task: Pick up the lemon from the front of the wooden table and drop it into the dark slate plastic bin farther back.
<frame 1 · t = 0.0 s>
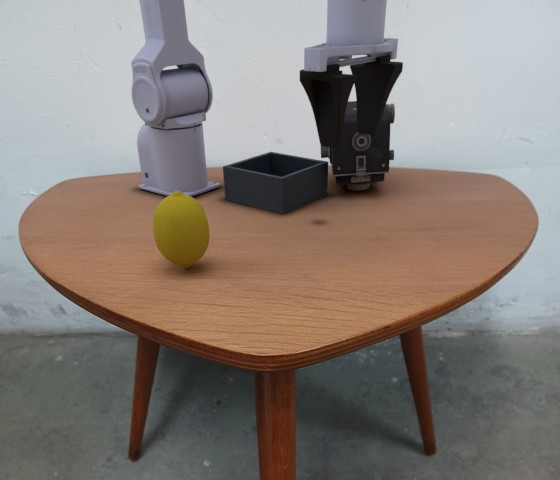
hand: (349, 140, 61), 10 cm above the table, tool pointing down, fingers open, 7 cm apart
camera: (357, 184, 82), on the table
bin: (276, 197, 77), on the table
lemon: (186, 270, 58), on the table
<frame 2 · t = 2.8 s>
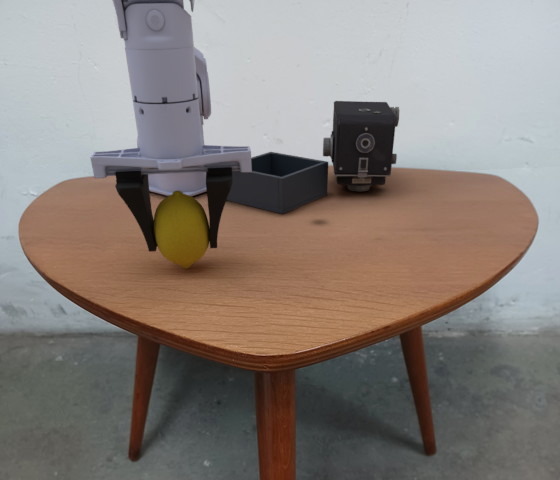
hand: (183, 246, 56), 2 cm above the table, tool pointing down, fingers closed on lemon, 5 cm apart
lemon: (186, 270, 58), on the table, touching gripper
everything else where it was.
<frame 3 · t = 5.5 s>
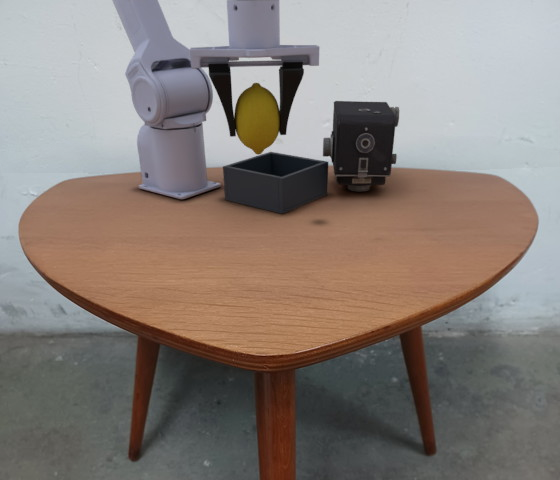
hand: (257, 134, 68), 9 cm above the table, tool pointing down, fingers closed on lemon, 5 cm apart
lemon: (258, 156, 69), point 7 cm above the table, touching gripper
everything else where it was.
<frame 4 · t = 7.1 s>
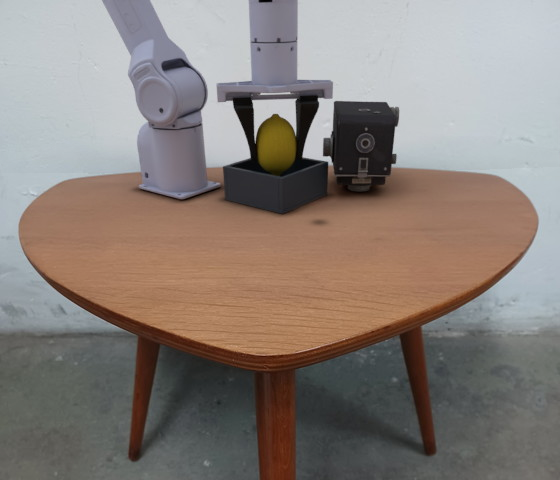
hand: (275, 159, 74), 5 cm above the table, tool pointing down, fingers closed on lemon, 5 cm apart
lemon: (276, 178, 76), point 3 cm above the table, touching gripper
everything else where it was.
when the fingers open (3 cm above the table, at t = 8.4 s): lemon stays where it is, resting on bin.
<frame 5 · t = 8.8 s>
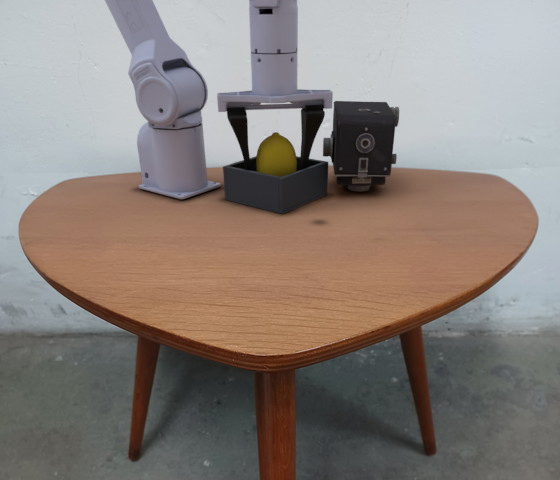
hand: (275, 167, 75), 4 cm above the table, tool pointing down, fingers open, 7 cm apart
lemon: (276, 195, 77), resting on bin
everything else where it was.
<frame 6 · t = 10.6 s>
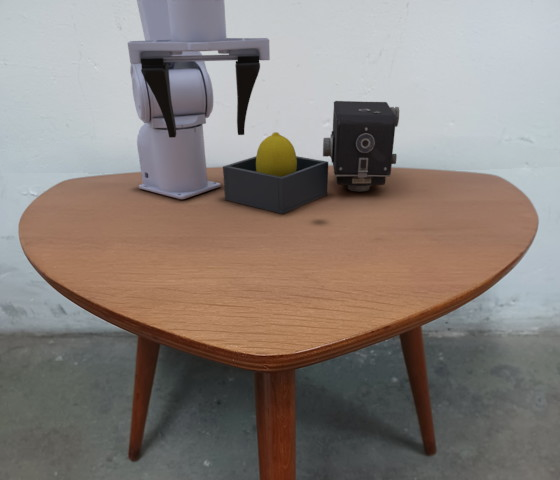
hand: (207, 134, 63), 10 cm above the table, tool pointing down, fingers open, 7 cm apart
nothing on the table moved.
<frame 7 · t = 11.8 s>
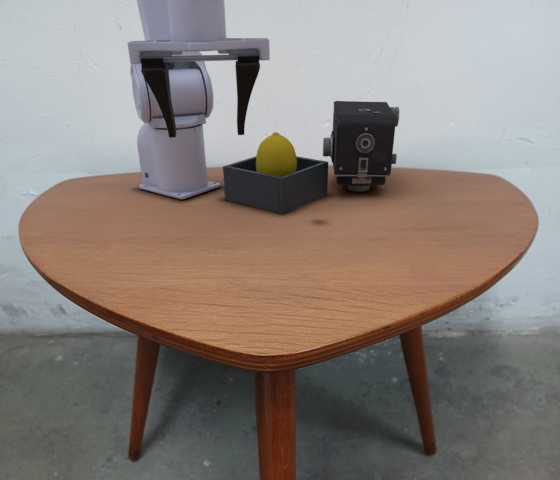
hand: (206, 134, 63), 10 cm above the table, tool pointing down, fingers open, 7 cm apart
nothing on the table moved.
at the end: lemon inside the target area in the bin (0.1 cm from its centre), point 0.3 cm above the bin's base; the gripper is holding nothing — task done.
